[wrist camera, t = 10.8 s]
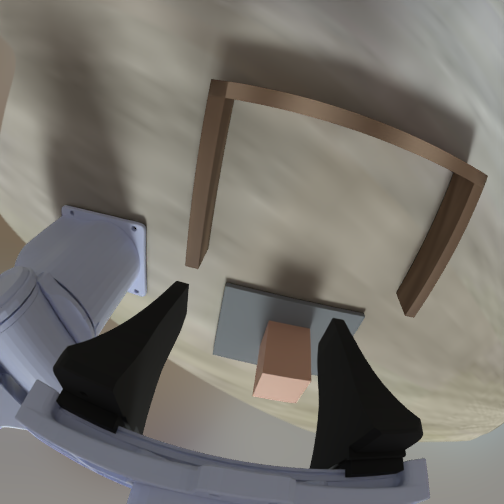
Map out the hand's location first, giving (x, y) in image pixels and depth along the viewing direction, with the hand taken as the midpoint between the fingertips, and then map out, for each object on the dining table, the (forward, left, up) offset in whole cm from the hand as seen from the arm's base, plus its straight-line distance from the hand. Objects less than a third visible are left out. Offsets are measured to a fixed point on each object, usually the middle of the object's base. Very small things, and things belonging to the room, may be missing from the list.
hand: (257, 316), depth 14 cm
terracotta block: (+4, -11, -9) cm, 15 cm away
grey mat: (+4, -11, -9) cm, 15 cm away
